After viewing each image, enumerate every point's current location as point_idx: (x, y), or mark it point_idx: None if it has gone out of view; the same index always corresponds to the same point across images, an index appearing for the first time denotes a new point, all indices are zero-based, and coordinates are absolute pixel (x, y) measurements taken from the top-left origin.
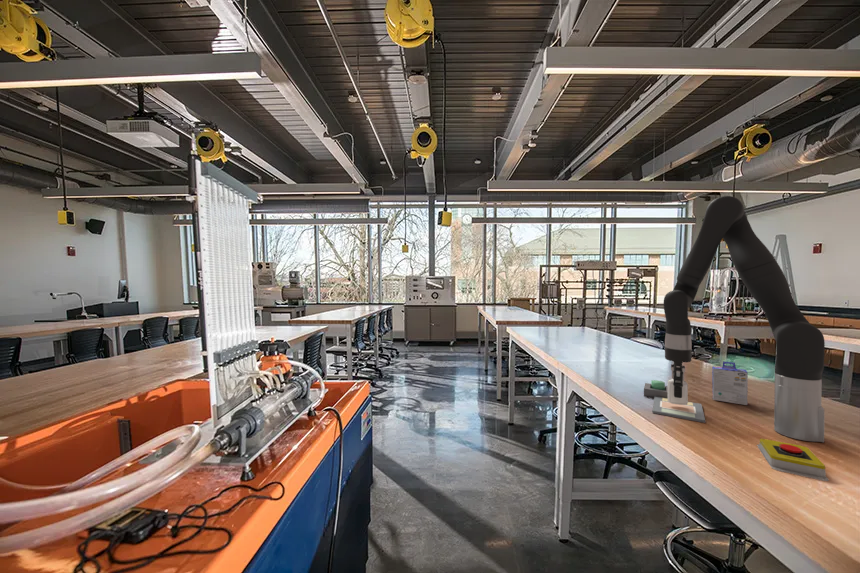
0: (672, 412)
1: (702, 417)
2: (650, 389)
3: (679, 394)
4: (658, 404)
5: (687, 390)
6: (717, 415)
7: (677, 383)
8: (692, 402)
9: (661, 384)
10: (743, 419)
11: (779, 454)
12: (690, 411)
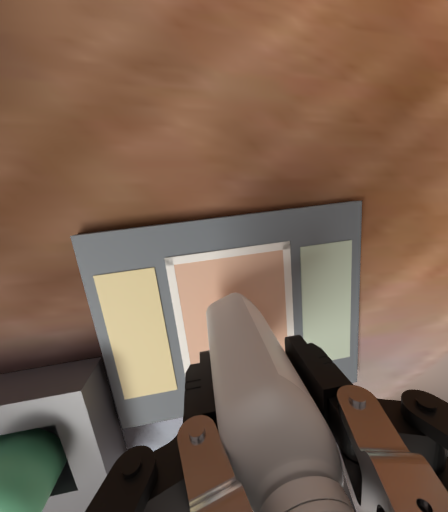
0: (336, 322)
1: (325, 214)
2: None
3: (323, 357)
4: None
5: (256, 337)
6: (195, 155)
7: (445, 449)
8: (82, 276)
9: (26, 485)
10: (166, 26)
11: None
12: (271, 266)
